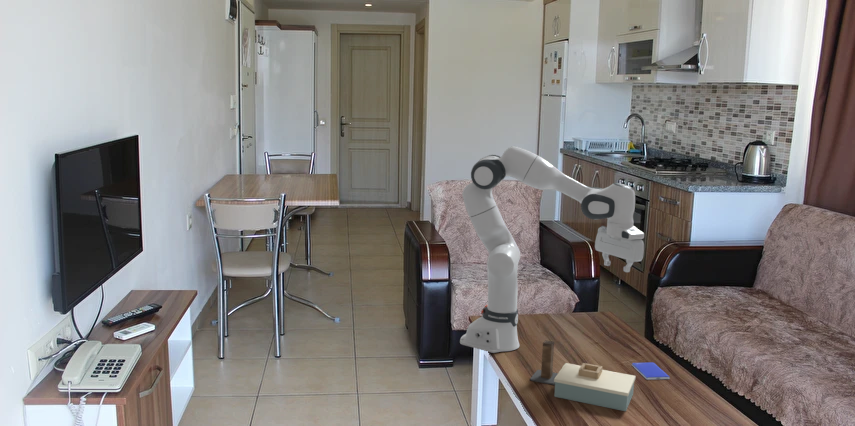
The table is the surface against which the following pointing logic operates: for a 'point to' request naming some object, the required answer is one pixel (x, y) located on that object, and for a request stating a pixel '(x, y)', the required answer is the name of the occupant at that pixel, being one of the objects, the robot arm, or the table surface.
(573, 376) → the cream and teal block
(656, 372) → the hard drive
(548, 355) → the walnut key
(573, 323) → the table surface
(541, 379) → the key mat
